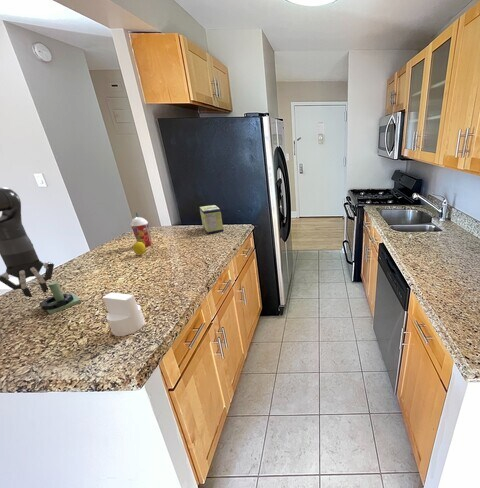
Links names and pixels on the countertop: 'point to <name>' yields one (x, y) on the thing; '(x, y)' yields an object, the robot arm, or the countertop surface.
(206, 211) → the protein box
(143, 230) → the smoothie
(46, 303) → the ring
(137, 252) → the lemon
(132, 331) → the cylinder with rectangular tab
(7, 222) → the robot arm
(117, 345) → the countertop surface
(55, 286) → the post
